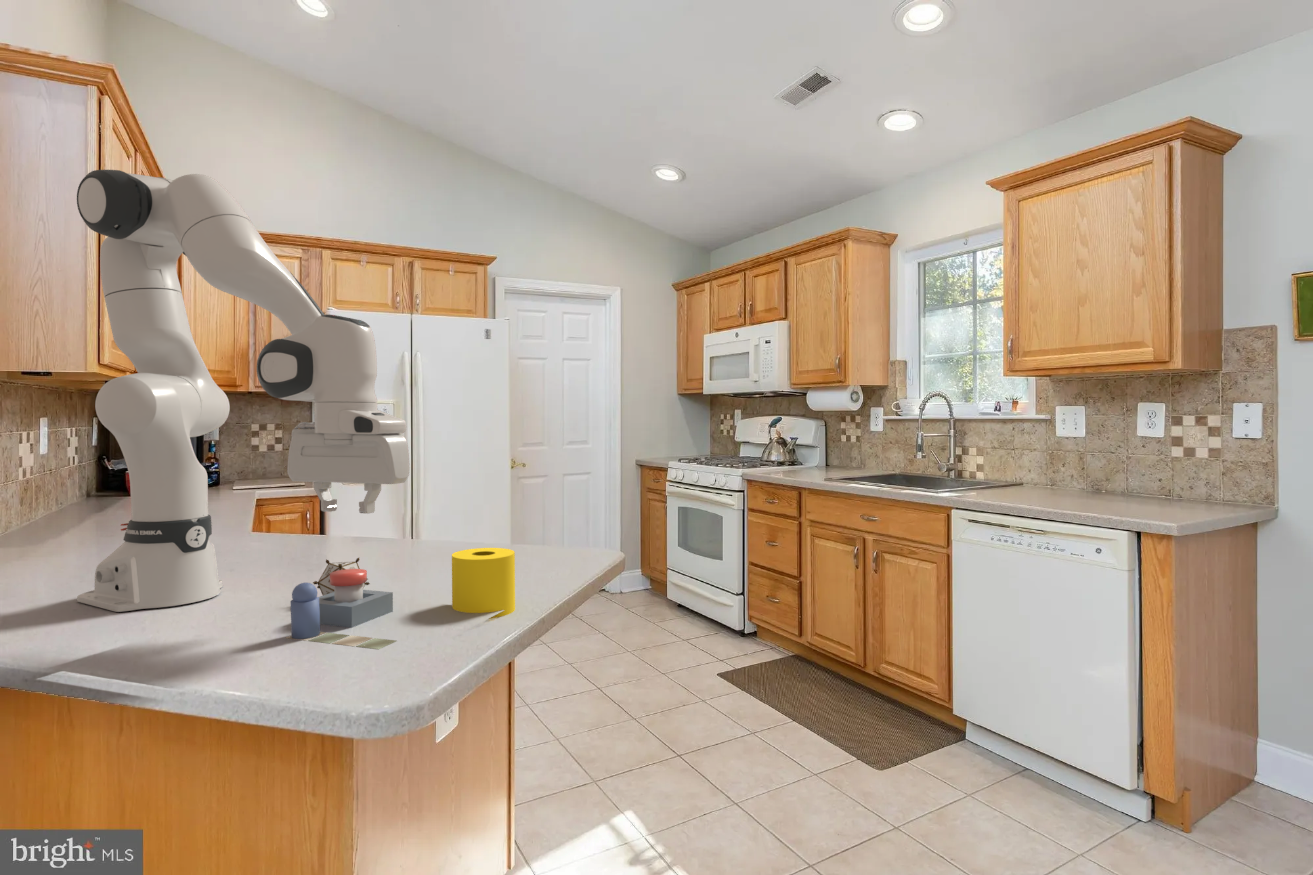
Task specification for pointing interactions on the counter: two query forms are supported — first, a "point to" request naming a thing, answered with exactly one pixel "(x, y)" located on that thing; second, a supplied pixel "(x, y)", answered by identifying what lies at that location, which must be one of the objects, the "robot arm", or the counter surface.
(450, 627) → the counter surface
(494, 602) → the yellow hollow cylinder
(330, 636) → the track board
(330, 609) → the base
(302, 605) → the pawn
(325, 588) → the game die
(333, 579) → the plunger
